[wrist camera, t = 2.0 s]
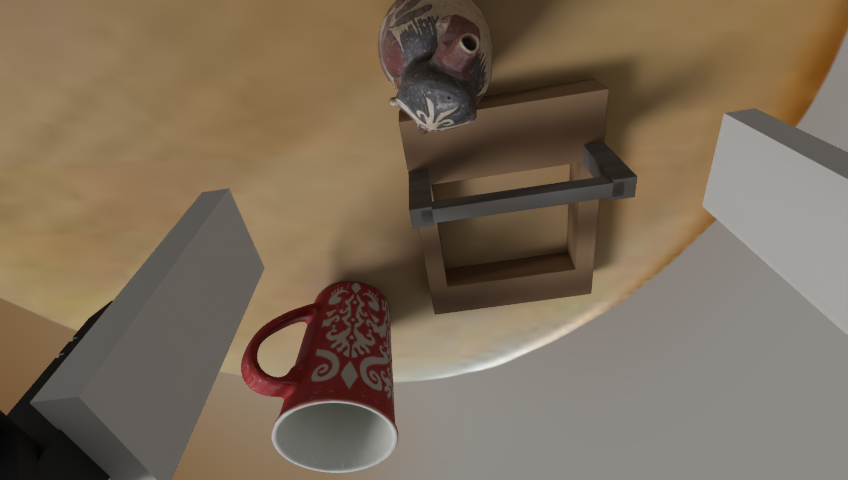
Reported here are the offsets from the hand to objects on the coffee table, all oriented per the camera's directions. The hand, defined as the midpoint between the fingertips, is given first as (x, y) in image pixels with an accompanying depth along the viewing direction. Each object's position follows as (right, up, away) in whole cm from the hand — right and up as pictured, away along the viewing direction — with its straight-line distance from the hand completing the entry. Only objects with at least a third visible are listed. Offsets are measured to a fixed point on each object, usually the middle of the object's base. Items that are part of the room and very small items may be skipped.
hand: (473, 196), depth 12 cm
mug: (-9, -7, +30) cm, 32 cm away
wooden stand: (+5, +2, +24) cm, 25 cm away
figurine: (-1, +12, +17) cm, 21 cm away
